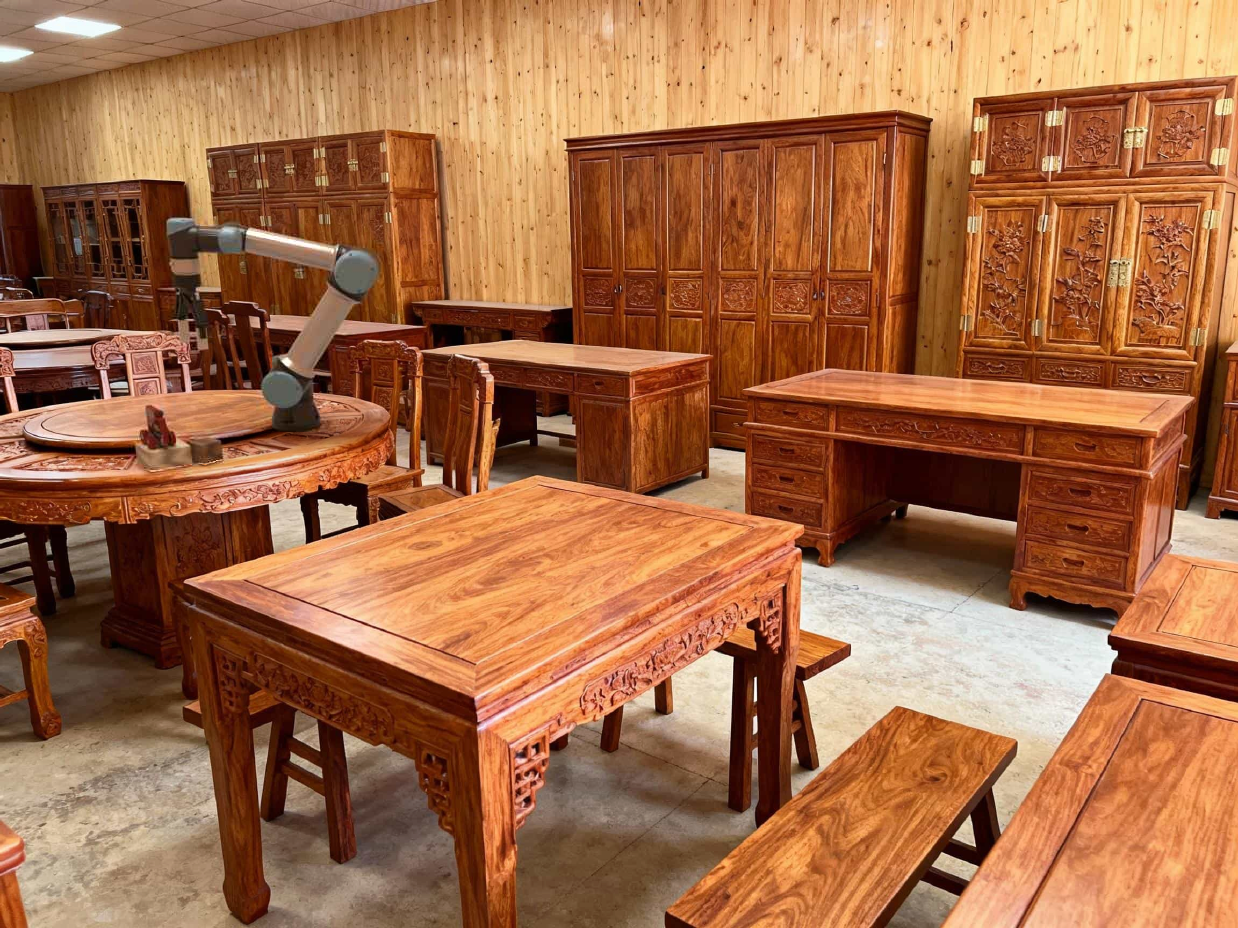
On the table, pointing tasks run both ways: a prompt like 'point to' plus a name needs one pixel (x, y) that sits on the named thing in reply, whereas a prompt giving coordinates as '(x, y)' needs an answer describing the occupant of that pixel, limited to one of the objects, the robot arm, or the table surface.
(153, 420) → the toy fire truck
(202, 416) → the table surface
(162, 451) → the birch block
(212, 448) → the walnut cube
